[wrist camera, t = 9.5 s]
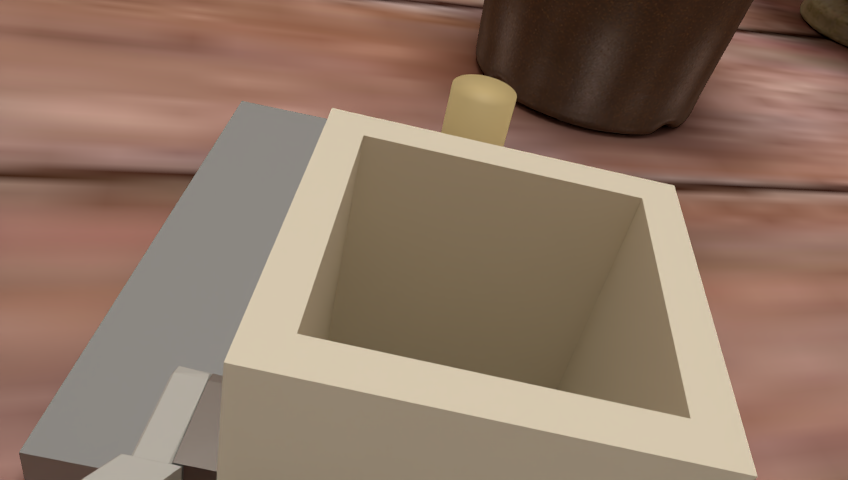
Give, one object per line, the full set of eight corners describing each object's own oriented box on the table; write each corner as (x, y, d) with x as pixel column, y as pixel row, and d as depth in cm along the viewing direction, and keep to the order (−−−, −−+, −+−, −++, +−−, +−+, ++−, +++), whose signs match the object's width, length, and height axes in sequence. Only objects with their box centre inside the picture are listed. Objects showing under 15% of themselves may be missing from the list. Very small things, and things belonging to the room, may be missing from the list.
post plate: (753, 625, 19) (946, 407, 14) (25, 483, 19) (-33, 206, 14) (654, 212, 34) (733, 33, 29) (240, 126, 33) (249, -72, 28)
